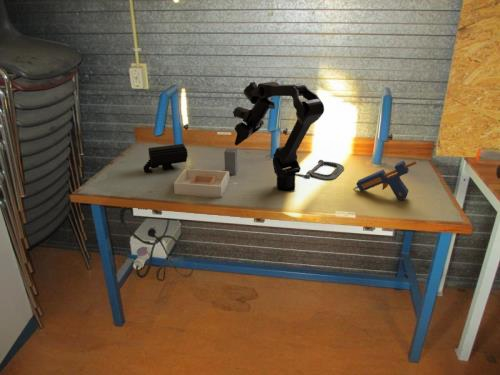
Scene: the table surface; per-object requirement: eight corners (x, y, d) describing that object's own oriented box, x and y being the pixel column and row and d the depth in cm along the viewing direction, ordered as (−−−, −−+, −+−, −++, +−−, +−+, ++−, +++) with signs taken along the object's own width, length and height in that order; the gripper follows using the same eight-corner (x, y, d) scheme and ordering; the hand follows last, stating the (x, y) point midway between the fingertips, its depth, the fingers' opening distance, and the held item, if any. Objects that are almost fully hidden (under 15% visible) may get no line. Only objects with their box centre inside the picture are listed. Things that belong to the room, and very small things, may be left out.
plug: (237, 170, 169) (237, 148, 164) (235, 175, 165) (235, 152, 160) (227, 170, 169) (226, 148, 165) (225, 174, 165) (224, 151, 161)
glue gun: (366, 210, 154) (350, 183, 153) (430, 183, 141) (413, 154, 140) (364, 215, 150) (348, 188, 149) (430, 188, 137) (413, 158, 136)
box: (229, 181, 159) (229, 171, 157) (221, 197, 146) (221, 186, 144) (186, 178, 161) (185, 168, 159) (174, 194, 149) (173, 183, 147)
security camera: (143, 169, 170) (140, 147, 166) (185, 163, 176) (184, 142, 172) (145, 175, 164) (142, 153, 160) (189, 169, 170) (187, 147, 166)
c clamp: (327, 185, 156) (328, 179, 155) (290, 175, 165) (290, 169, 164) (349, 169, 171) (350, 163, 170) (313, 160, 180) (314, 154, 179)
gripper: (250, 95, 164) (232, 125, 172) (233, 103, 148) (214, 136, 155) (272, 111, 163) (253, 140, 171) (257, 121, 147) (237, 152, 155)
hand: (239, 141), depth 163 cm, fingers open, 9 cm apart
